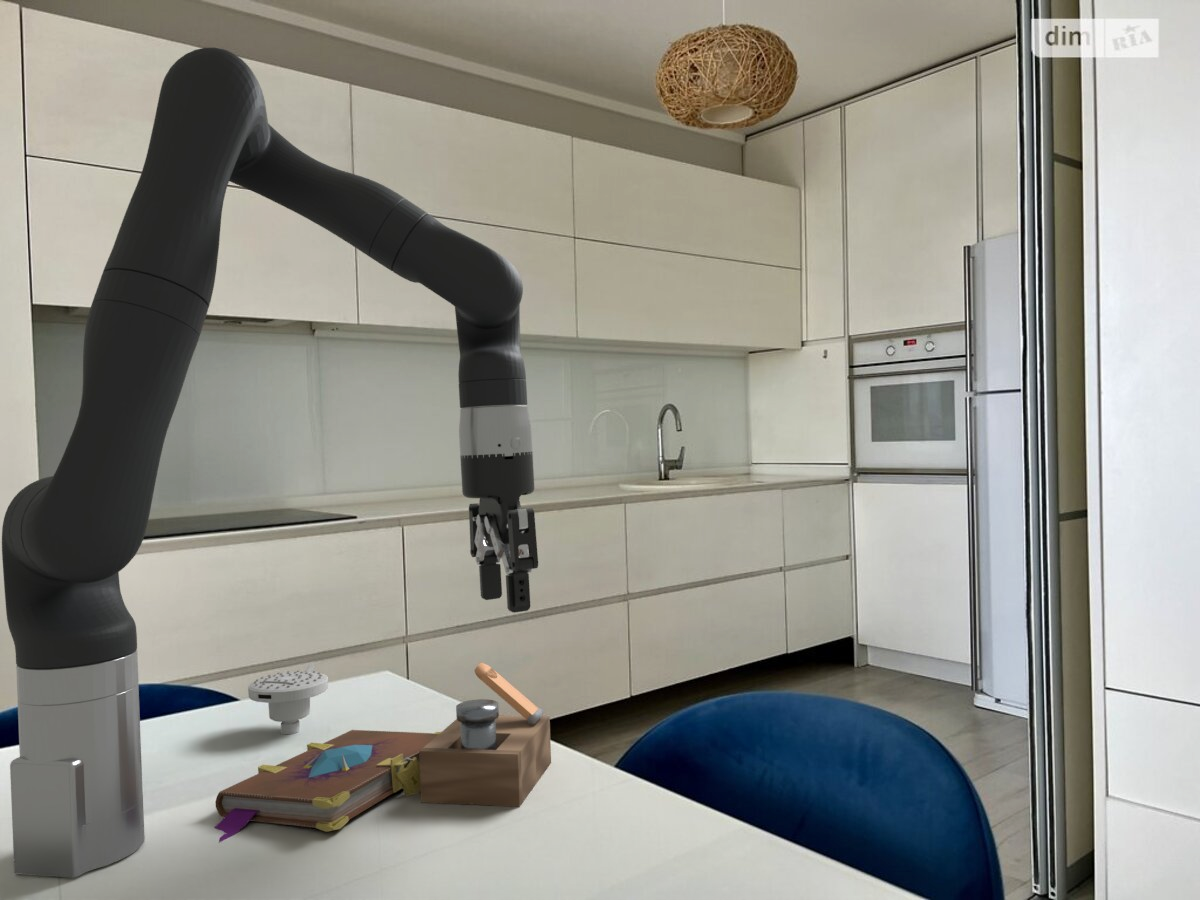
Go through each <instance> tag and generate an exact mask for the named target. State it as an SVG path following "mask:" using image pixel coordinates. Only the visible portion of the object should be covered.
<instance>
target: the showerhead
mask: <svg viewBox="0 0 1200 900" xmlns="http://www.w3.org/2000/svg"><path fill="white" fill-rule="evenodd" d="M315 667H316V666H315V665H314V663H310V664H309V665H308V666H307V667H306V669H305V670H304V671H301V670H298V669H297V670H296V671H291V670H287V671H286V672H277V673H276V674H271V673H270V674H268V675H267V676H261V677H260V678H258V679H257V678H256V679H255V680H254V681H252V682H251V683H249V685H248V686H247V690H248V691H247V692H248V699H250V700H251V701H254V702H257V703H258V702H259V703H267V704H268V717H269V719H270V720H272V721H273V722H279V723H280V731H281V732H280V733H281V734H282V735H291V734H297V733H298V732H300V727H301V726H300V720H303V719H304V718H306V717H308V716H309V715H310V714H311V698H313V697H316V696H319V695H321V694H323V693H325V692H326V691H327V690H328V689H329V677H328V675H326V674H324V673H321V672H318V671H316V670H314V669H315Z"/></svg>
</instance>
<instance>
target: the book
mask: <svg viewBox="0 0 1200 900" xmlns="http://www.w3.org/2000/svg"><path fill="white" fill-rule="evenodd" d="M441 732H442V731H435V732H415V731H414V732H413V731H412V732H411V731H410V732H409V731H391V730H389V731H388V730H365V729H364V730H363V729H351V730H349V731H346V732H345V733H343V734H340V735H338V736H336V737H334V738H332V739H329V740H328V741H325V742H323V743H321V742H310V743H307V744H306V751H303V752H301V753H300V754H297V755H295V756H293V757H290V758H289V759H286V760H284V761H282V762H280V763H278V764H276V765H270V764H262V765H259V766H258V767H257V774H255V775H252V776H250V777H248V778H246V779H244V780H242V781H240V782H237V783H235V784H233V785H232V786H229V787H227V788H224V789H222V790H220V791H219V792H218V793H217V795H216V797H215V809H216V811H217V813H218V815H219V817H222V818H223V819H221V821H220V822H219V823H217V824H216V825H215V826H214V827H213V828H214V829H217V830H218V831H221V832H223V833H224V834H222V835H221V836H220V837H219V840H218V843H222V842H223V841H225V840H226V839H229V838H231V837H233V836H235V835H236V834H237V833H238V832H239V831H241V830H242V829H243V828H244V827H245V826H247V824H248V823H249V822H259V823H268V824H277V825H278V824H279V825H284V826H285V825H287V826H297V827H304V828H315V829H317V830H320V831H323V832H326V833H327V832H331V831H336V830H340V829H342V828H343V827H344V826H345V825H346V824H347V823H348V822H349V821H350V820H351V819H353V818H354V817H356V816H358V815H359V814H361V813H363V812H364V811H366V810H368V809H370V807H373V806H374V805H375V804H377V803H379V802H381V801H382V800H384V799H386V798H387V797H389V796H391V795H392V794H395V793H397V792H398V791H400V790H401V789H402V790H403V792H404V795H405V796H407V797H409V796H412V795H415V794H418V793H421V784H420V758H419V751H420V750H421V749H422V748H423V747H425V746H426V745H427V744H428V743H429V742H430V741H432V740H433V739H434V738H435V737H436V736H437V735H439V734H440V733H441Z"/></svg>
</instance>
